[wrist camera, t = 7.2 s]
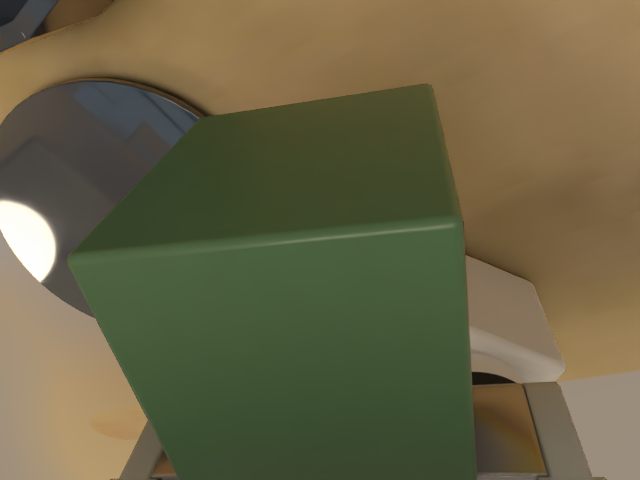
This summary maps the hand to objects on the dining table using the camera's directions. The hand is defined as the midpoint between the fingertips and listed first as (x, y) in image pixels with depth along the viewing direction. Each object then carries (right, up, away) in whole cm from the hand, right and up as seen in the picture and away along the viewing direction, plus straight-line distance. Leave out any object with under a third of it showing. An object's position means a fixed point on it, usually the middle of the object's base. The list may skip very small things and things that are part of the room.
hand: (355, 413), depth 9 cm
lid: (-12, +4, +22) cm, 25 cm away
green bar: (0, +1, +1) cm, 2 cm away
